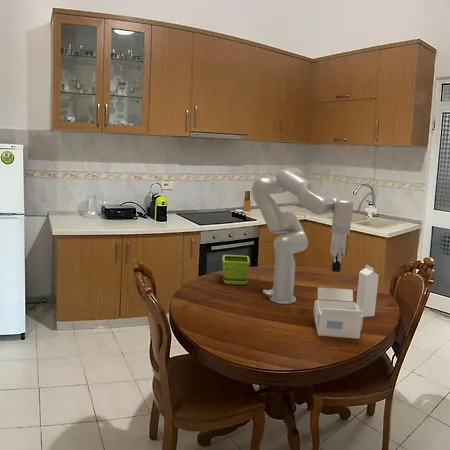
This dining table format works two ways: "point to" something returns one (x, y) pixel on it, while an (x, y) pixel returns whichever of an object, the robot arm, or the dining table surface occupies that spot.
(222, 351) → the dining table surface
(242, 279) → the flower pot
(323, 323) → the carton
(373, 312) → the milk
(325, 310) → the flap near
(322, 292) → the flap far
